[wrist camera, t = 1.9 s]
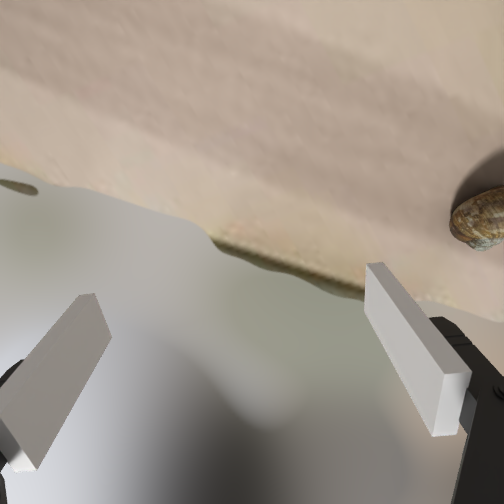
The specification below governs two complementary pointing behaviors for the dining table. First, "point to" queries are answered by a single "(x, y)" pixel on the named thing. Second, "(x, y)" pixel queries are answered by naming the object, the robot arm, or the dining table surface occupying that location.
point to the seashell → (480, 220)
